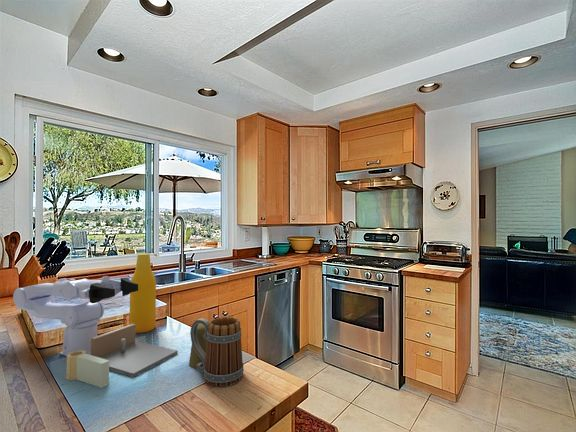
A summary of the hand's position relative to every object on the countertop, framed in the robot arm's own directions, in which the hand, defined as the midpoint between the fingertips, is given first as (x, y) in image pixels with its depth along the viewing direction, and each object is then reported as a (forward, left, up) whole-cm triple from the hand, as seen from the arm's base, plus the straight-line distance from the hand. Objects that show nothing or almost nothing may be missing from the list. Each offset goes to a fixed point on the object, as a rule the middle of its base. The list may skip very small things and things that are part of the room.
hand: (125, 289), depth 89 cm
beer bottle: (-20, +23, -22) cm, 38 cm away
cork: (+19, +10, -22) cm, 31 cm away
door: (-1, -10, -22) cm, 24 cm away
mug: (+28, +6, -22) cm, 36 cm away
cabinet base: (-2, +4, -22) cm, 22 cm away
